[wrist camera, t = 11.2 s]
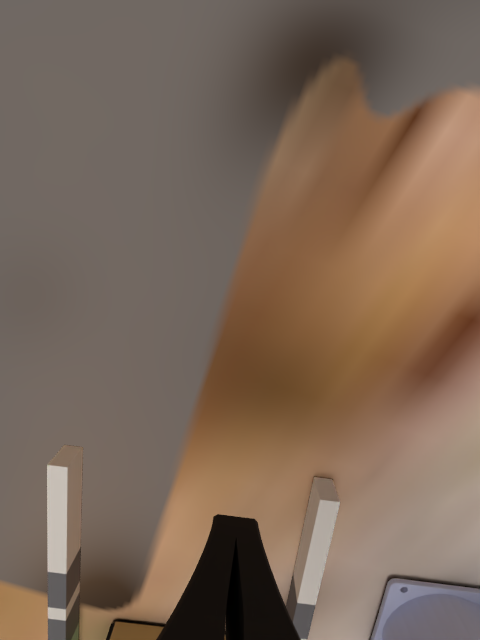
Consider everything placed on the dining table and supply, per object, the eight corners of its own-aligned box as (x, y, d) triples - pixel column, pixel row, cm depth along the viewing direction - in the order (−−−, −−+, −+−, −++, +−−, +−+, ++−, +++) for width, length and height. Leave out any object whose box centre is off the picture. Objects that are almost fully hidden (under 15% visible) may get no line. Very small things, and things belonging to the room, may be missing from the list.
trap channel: (332, 479, 23) (340, 502, 21) (271, 745, 29) (272, 782, 27) (64, 444, 23) (47, 464, 21) (62, 720, 29) (48, 755, 27)
